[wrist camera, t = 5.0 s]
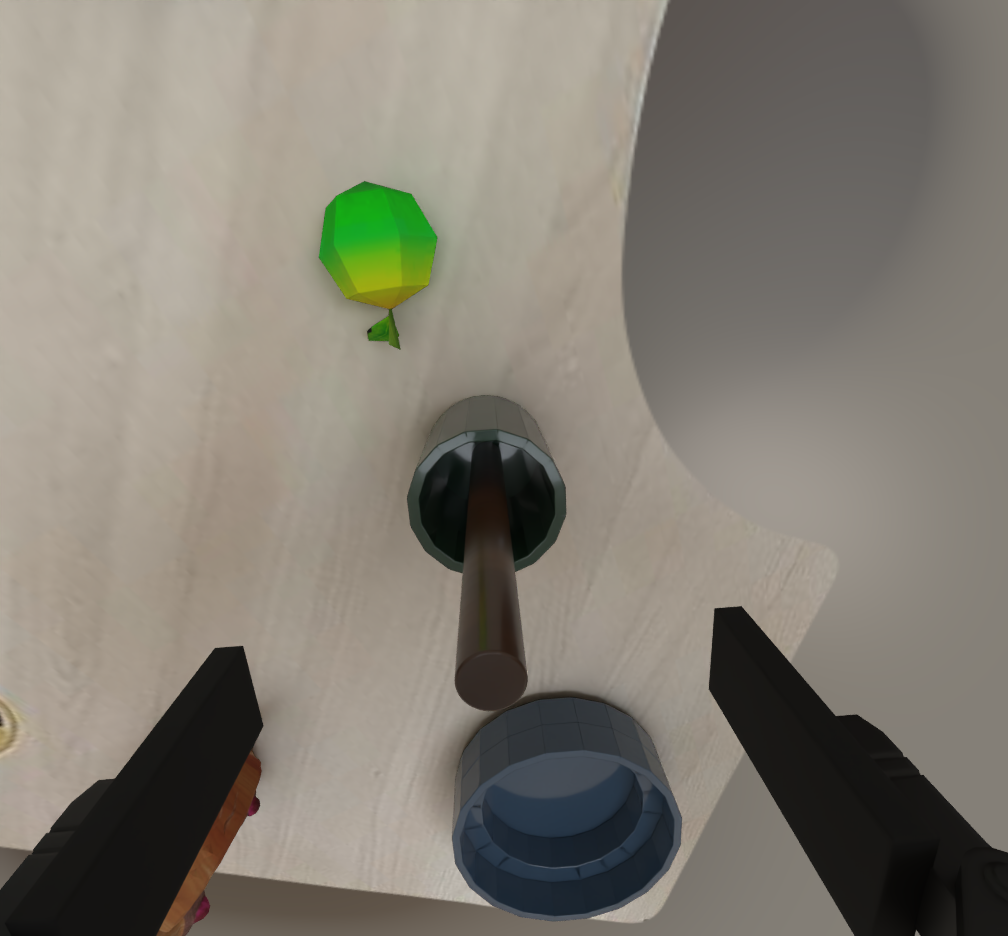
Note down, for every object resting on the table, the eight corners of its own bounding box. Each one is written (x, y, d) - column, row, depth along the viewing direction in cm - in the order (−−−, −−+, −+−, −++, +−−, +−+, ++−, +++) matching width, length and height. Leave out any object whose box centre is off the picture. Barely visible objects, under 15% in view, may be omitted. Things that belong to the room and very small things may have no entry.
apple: (335, 158, 24) (383, 356, 26) (444, 162, 28) (477, 335, 30) (279, 201, 29) (324, 363, 31) (378, 200, 33) (411, 344, 35)
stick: (500, 440, 35) (526, 649, 14) (502, 469, 35) (529, 709, 14) (470, 442, 35) (450, 654, 14) (472, 471, 35) (457, 715, 14)
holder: (541, 391, 35) (564, 424, 25) (546, 502, 37) (568, 571, 28) (422, 399, 35) (398, 436, 25) (434, 510, 37) (417, 582, 27)
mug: (226, 817, 45) (106, 1058, 30) (143, 768, 43) (-27, 1001, 29) (334, 715, 42) (257, 927, 28) (250, 657, 40) (121, 854, 26)
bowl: (659, 682, 42) (686, 742, 37) (653, 838, 47) (677, 911, 42) (447, 699, 42) (442, 761, 36) (465, 853, 47) (463, 929, 41)
